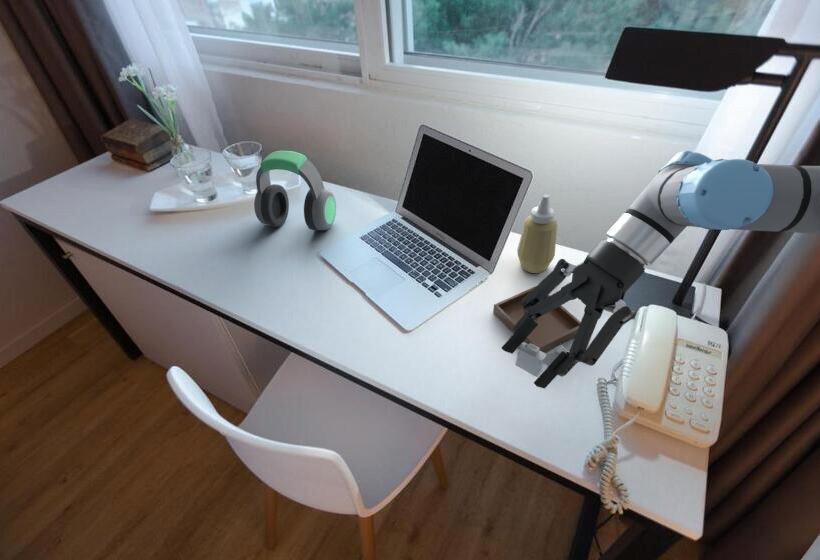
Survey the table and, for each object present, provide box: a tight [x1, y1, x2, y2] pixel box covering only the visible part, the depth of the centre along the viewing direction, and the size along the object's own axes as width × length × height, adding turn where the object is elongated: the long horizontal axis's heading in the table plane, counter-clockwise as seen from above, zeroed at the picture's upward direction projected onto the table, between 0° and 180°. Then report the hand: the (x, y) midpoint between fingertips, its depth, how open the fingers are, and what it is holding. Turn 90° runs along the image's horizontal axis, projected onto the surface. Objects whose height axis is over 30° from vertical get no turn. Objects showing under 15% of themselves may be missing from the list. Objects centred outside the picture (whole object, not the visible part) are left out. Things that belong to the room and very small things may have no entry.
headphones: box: [253, 150, 337, 232], centre depth 109 cm, size 19×11×20 cm, turn 77°
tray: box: [492, 285, 581, 354], centre depth 84 cm, size 13×11×2 cm
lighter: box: [515, 342, 568, 378], centre depth 69 cm, size 7×2×8 cm, turn 49°
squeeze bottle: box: [516, 194, 558, 274], centre depth 92 cm, size 8×8×18 cm
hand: (522, 367), depth 68 cm, fingers closed on lighter, 7 cm apart
